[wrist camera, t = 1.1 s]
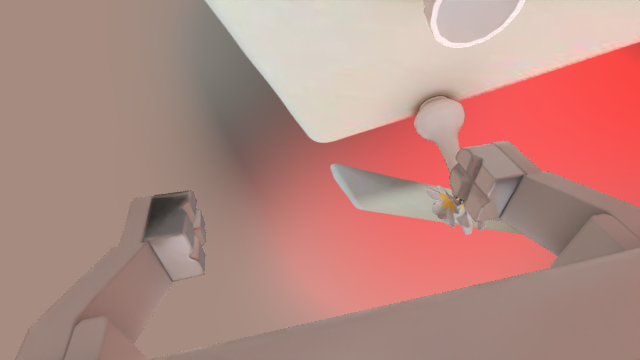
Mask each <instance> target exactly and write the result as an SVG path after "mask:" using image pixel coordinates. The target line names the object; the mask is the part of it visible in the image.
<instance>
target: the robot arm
mask: <svg viewBox="0 0 640 360" xmlns="http://www.w3.org/2000/svg"><path fill="white" fill-rule="evenodd" d="M455 159H456V161H457V162H458V163H457V164H456V165H455V166H454V167H453V168H452V169H451V173H450V176H449V179H450V186H451V189H452V191H453V193H454V194H455V195H456V197H458V198H460V199H462V200H464V208H465V209H466V210H467V212H468V213H469V214H470V216H471V217H472V218H473V220H474V221H475V222H478V221H484V220H490V219H496V218H500V220H502V221H503V222H505V223H506V224H508V225H509V226H511V227H513V228H514V229H516V230H517V231H519V232H520V233H522V234H524V235H525V236H527V237H528V238H530V239H532V240H533V241H535V242H536V243H538V244H539V245H541V246H542V247H544V248H546V249H547V250H549V251H550V252H552V253H553V254H555V255H557V256H558V257H557V258H556V259H555V261H554V262H553V263H552V264H551V266H550V268H548V269H544V270H539V271H535V272H531V273H526V274H522V275H517V276H513V277H509V278H504V279H500V280H495V281H491V282H486V283H482V284H478V285H473V286H469V287H464V288H460V289H456V290H452V291H447V292H442V293H438V294H434V295H429V296H425V297H420V298H416V299H412V300H407V301H403V302H399V303H394V304H389V305H385V306H381V307H377V308H372V309H368V310H363V311H359V312H354V313H350V314H346V315H341V316H337V317H333V318H328V319H324V320H319V321H315V322H311V323H306V324H302V325H297V326H293V327H288V328H284V329H280V330H275V331H271V332H267V333H263V334H258V335H253V336H249V337H245V338H240V339H236V340H231V341H227V342H223V343H218V344H214V345H209V346H205V347H201V348H196V349H192V350H188V351H183V352H179V353H174V354H170V355H165V356H161V357H157V358H152V359H148V358H147V357H146V356H145V355H144V354H142V352H141V351H140V350H138V349H137V347H136V346H135V345H134V343H135V341H136V340H137V338H138V336H139V335H140V334H141V332H142V330H143V329H144V327H145V326H146V324H147V323H148V321H149V319H150V318H151V317H152V315H153V314H154V312H155V310H156V309H157V307H158V306H159V304H160V303H161V301H162V300H163V298H164V296H165V295H166V293H167V292H168V290H169V289H170V287H171V286H172V284H173V282H174V281H178V280H183V279H187V278H192V277H196V276H200V275H204V271H205V253H204V251H203V248H202V246H203V245H204V243H205V242H206V229H205V222H204V218H203V215H202V212H201V211H200V210H199V209H197V208H196V205H197V199H196V197H195V195H194V192H193V191H183V192H175V193H168V194H161V195H154V196H148V197H140V198H135V199H133V200H132V201H131V203H130V207H129V210H128V214H127V217H126V221H125V225H124V228H123V231H122V235H121V239H120V242H119V246H118V247H114V248H112V249H110V250H109V251H108V252H107V253H106V254H105V255H104V256H103V257H102V258H101V259H100V260H99V261H98V262H97V263H96V264H95V265H94V266H93V267H92V268H91V269H90V270H89V271H88V272H87V273H86V274H85V275H83V276H82V277H81V278H80V279H79V280H78V281H77V282H76V283H75V284H74V285H73V286H72V287H71V288H70V289H69V290H68V291H67V292H66V293H65V294H64V295H63V296H62V297H61V298H60V299H59V300H58V301H57V302H56V303H54V305H52V306H51V307H50V308H49V309H48V310H47V311H46V312H45V313H44V314H43V315H42V316H41V317H40V318H39V319H38V320H37V321H36V322H35V323H34V324H33V325H32V326H31V327H30V328H29V329H28V331H27V333H26V336H25V338H24V340H23V343H22V345H21V347H20V350H19V352H18V354H17V356H16V359H15V360H640V209H639V208H638V207H637V206H635V205H633V204H630V203H627V202H625V201H622V200H620V199H617V198H615V197H612V196H610V195H607V194H604V193H602V192H599V191H597V190H594V189H592V188H589V187H586V186H584V185H581V184H579V183H576V182H574V181H571V180H568V179H566V178H563V177H561V176H558V175H556V174H553V173H551V172H548V171H547V172H543V171H541V169H539V168H538V167H537V166H536V165H535V164H534V163H533V162H531V160H529V159H528V158H527V157H526V156H525V155H524V154H523V153H522V152H521V151H519V150H518V149H517V148H516V147H515V146H514V145H513V144H512V143H510V142H508V141H500V142H495V143H490V144H484V145H478V146H472V147H466V148H461V149H460V150H459V151H458V152H457V155H456V158H455Z"/></svg>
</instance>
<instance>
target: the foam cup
mask: <svg viewBox="0 0 640 360" xmlns="http://www.w3.org/2000/svg"><path fill="white" fill-rule="evenodd" d="M524 1H525V0H424V5H425V8H424V13H425V16H426V18H427V21H428V24H429V26H430V29H431V31H432V33H433V35H434V38H435V39H436V40H437V41H439V42H440V43H442V44H444V45H445V46H447V47H455V48H467V47H470V46H473V45H476V44H479V43H482V42H485V41H486V40H488V39H489V38H491V37H492V36H494V35H495V34H497V33H498V32H500V31H501V30H503V29H504V28H505V27H506V26H507V25H508V24H509V23H510V22H511V20H512V19H513V18H514V17H515V16H516V15H517V14H518V12H519V11H520V10H521V8H522V6H523V3H524Z"/></svg>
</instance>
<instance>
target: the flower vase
mask: <svg viewBox="0 0 640 360" xmlns="http://www.w3.org/2000/svg"><path fill="white" fill-rule="evenodd" d="M464 120H465V110H464V108H463V106H462V105H461V104H460V103H459V102H457V101H454V100H451V99H448V98H447V97H444V96H436V97H433V98H430V99H428V100H427V101H425V102H424V103H423V104H422V105H421V106H420V108H419V112H418V114H417V115H416V118H415V121H414V127H415V130H416V131H417V133H418V134H419V135H420V136H421V137H423V138H424V139H426V140H429V141H433V142H434V143H435V144H436V145H437V146H438V148H439V149H440V151H441V153H442V155H443V157H444V160H445V162H446V165H447V167H448V170H449V172H450V173H451V169H452V168H453V167H454V166H455V165H456V164H457V163H458V162H457V161H456V159H455V158H456V155H457V152H458V151H459V150H460V146H459V141H458V134H459V130H460V129H461V127H462V125H463V123H464ZM437 188H438V191H439V192H438V191H435V190H433V189H430V188H426V189H425V190H426V192H427V193H428V195H429V196H430V197H432V198H433V199H435V200H440V201H438V202H436V203H434V204H433V207H432V211H433V213H434V214H435V215H438V218H440V219H444V223H445V224H448V225H451V226H452V227H455V223H457V222H459V223H460V224H461V228H462V230H463V232H464V233H465V234H470V233H471V232H472V229H473V224H472V219H473V218H472V217H471V216H470V214H469V213H468V212H467V210H466V209H465V208H464V200H463V203H461V202H462V199H459V201H458V200H456V199H457V198H458V197H456V195H455V194H454V193H453V191H452V195H453V196H454V197H452V196H451V195H449V194H448V193H447V192H446V191H445V190H444V188H443V187H441V186H440V185H438V187H437ZM491 220H493V221H494V222H497V223H502V222H503V221H502V220H500V218H496V219H491ZM487 221H488V220H484V221H478V230H480V231H481V230H483V229H484V228H485V226H486V224H487Z"/></svg>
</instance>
